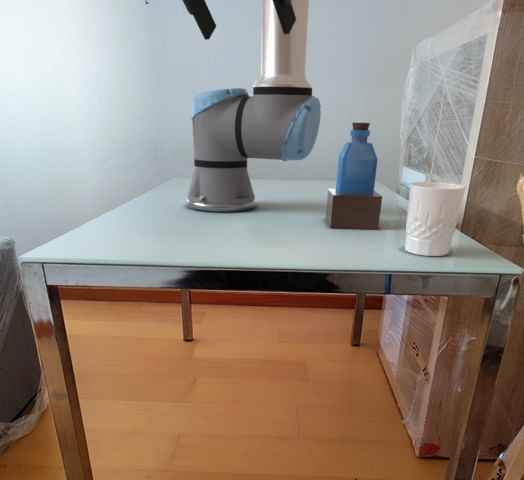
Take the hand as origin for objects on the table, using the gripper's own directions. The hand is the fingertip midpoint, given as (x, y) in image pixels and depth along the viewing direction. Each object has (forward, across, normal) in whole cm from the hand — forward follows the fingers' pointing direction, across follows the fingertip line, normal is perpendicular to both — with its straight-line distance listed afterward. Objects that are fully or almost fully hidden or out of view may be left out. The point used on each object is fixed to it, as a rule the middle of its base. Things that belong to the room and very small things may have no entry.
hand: (248, 30), depth 68 cm
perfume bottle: (+32, +10, -1) cm, 34 cm away
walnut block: (+37, +10, -5) cm, 38 cm away
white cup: (+28, +28, -14) cm, 42 cm away
